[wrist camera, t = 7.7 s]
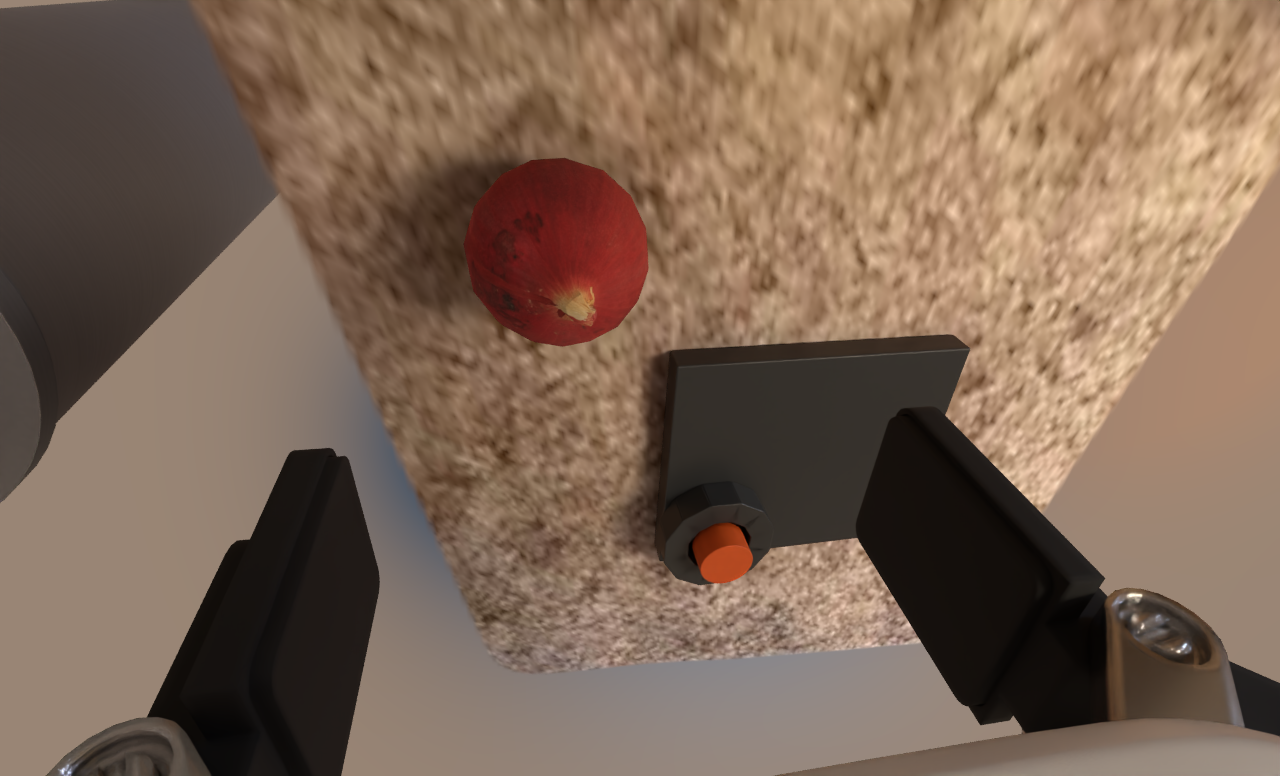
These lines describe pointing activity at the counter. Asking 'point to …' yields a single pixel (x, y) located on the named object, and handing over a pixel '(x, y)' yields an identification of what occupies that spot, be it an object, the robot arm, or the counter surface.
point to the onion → (557, 251)
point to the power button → (722, 553)
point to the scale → (785, 436)
